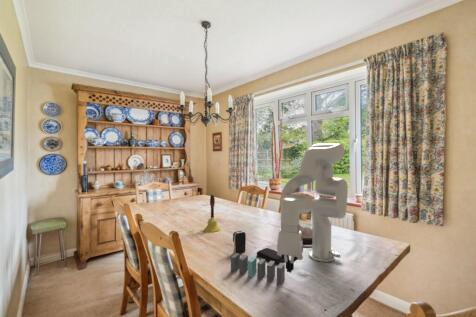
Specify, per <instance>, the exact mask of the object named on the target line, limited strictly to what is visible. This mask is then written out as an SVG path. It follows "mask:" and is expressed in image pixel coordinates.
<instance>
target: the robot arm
mask: <svg viewBox="0 0 476 317" xmlns="http://www.w3.org/2000/svg"><path fill="white" fill-rule="evenodd" d="M344 157H345V147H344V146H343V144H342V143H338V142H337V143H335V142H334V143H316V144H312V145H310V147H309V148H307V149H306V150H305V152H304V154H303V158H302V162H301V164H300V167H299V170H298V172H297V174H296V175H294V176H292V177H291V179H289V180H288V181H287V182H286V183H285V185H284V187H283V188H282V192H281V194H280V197H279V205H280V229H279V230H278V236H277V244H276V249H277V250H276V251H277V255H279V256H282V258H283V259H284V260H285V261H284V262H285V270H286V273H289V274H291V273H292V271H294V268H295V267H294V264H295V262H296V261H297V260H298V261H301V260H303V259H304V256H303V252H304V247H303V240H302V233H301V231H299V230H303V227H304V226H301V225H300V215H302V214H303V215H305V214H308V213H310V212H311V218H312V219H311V220H312V223H311V224H312V226H311V227H312V228H311V229H312V247H311V251H309V253H308V255H309V257H310V258H311V259H312V260H314V261H317V262H322V263H331V262H333V261H334V260H335V258H341V253H339V252H338V251H334V250H333V247H332V223H331V220H330V218H333V219H338V220H342V219H344V218H345V217H346V216H347V215H346V214H347V208H348V195H349V194H348V192H349V190H348V187H349V186H348V182H347V181H346V179H344V178H341V177H334V167H333V165H335V164H337V163H339V162H340V161H341V160H342V159H343V158H344ZM313 182H315V185H314V186H315V188H314V189H315V190H314V191H315V192H316V194H318V195H322V196H329V197H335V198H329V197H321V196H320V197H319V196H318V197H314V198H312V199H311V198H310V197H309V196H306V195H300V194H293V193H294V192H295V190H296V189H298V188H300V187H303V186H306V185H308V184H311V183H313Z"/></svg>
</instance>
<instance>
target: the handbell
mask: <svg viewBox="0 0 476 317" xmlns="http://www.w3.org/2000/svg"><path fill="white" fill-rule="evenodd" d="M215 202H216V201H215V195H214V194H211V195H210V198H209V206H210V218H208V220H207V225H206V226H205V228H204V229H203V231H204V232H205V233H209V234H211V233H212V234H213V233H218V232H221V231H222V229H221V227H219V226H218V221H217V219H216V218H215V211H214V210H215V209H214V208H215V205H216V203H215Z"/></svg>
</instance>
